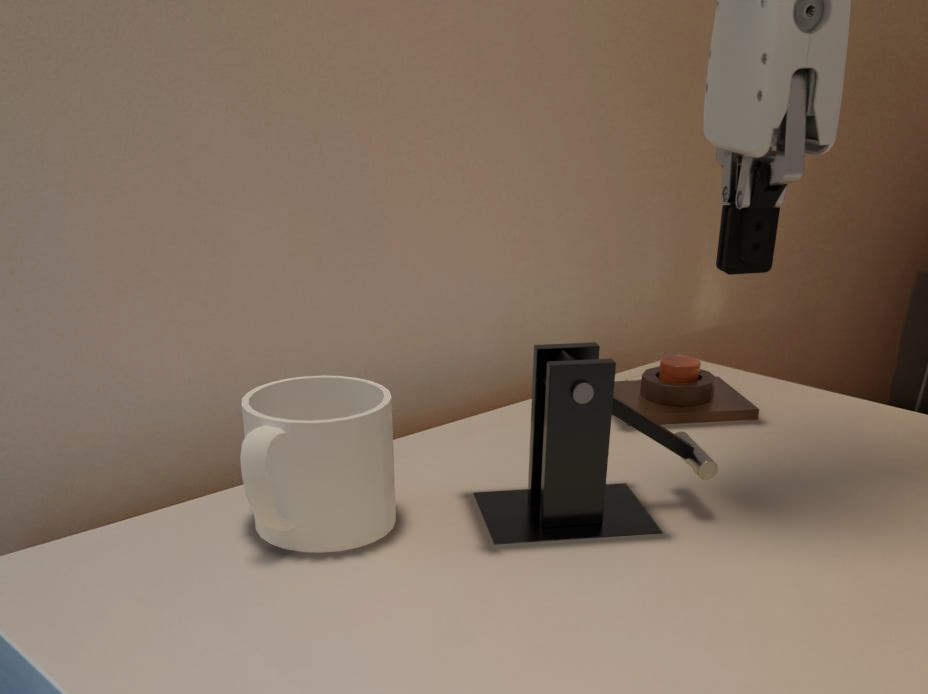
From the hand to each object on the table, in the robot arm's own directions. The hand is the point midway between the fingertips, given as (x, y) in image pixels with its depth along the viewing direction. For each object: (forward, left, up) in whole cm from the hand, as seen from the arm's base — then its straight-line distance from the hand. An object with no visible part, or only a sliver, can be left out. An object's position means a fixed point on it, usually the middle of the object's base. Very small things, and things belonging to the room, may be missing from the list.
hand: (743, 270), depth 66 cm
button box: (-5, -22, -18) cm, 28 cm away
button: (-5, -22, -14) cm, 26 cm away
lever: (+7, 0, -10) cm, 13 cm away
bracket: (+11, 0, -18) cm, 21 cm away
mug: (+29, 0, -18) cm, 34 cm away
